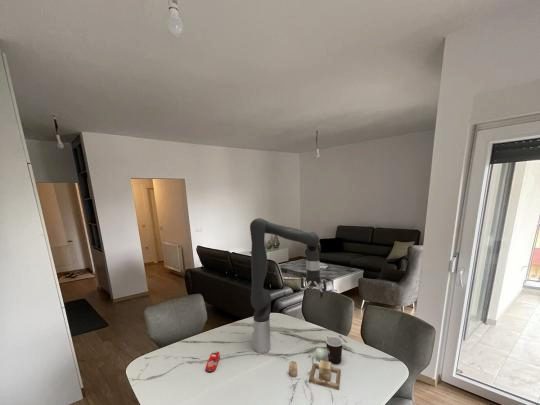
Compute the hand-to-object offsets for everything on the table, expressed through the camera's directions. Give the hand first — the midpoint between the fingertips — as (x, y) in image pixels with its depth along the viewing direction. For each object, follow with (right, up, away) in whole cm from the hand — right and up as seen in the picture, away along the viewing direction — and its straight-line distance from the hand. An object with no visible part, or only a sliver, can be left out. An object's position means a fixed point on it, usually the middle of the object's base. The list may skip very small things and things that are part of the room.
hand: (313, 296), depth 130 cm
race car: (-55, -33, -8) cm, 64 cm away
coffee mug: (+10, -30, -7) cm, 33 cm away
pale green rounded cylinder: (+2, -30, -7) cm, 31 cm away
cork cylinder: (-13, -31, -17) cm, 38 cm away
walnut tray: (+2, -30, -20) cm, 36 cm away
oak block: (+2, -30, -20) cm, 36 cm away
